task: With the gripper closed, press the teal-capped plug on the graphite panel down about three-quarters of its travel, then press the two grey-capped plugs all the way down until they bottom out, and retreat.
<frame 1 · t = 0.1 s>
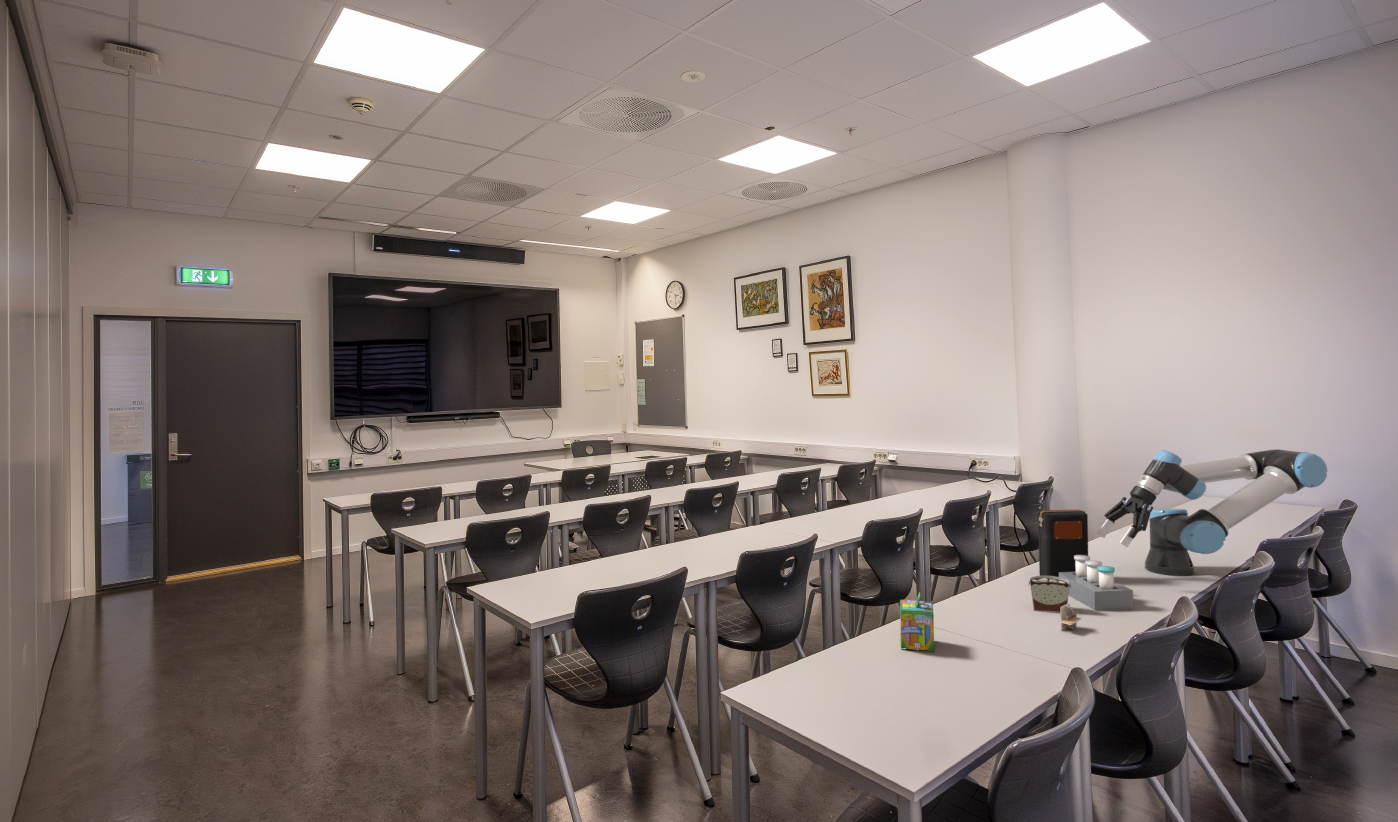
hand: (1111, 540, 242), 15 cm above the table, tool tilted 35°, fingers open, 13 cm apart
chalk box: (917, 645, 194), on the table
food container: (1048, 609, 220), on the table
voltmeter: (1064, 579, 250), on the table
architectural model: (1069, 631, 202), on the table
panel: (1094, 598, 227), on the table
grey plug end: (1082, 568, 234), point 8 cm above the table, slide at 0.0 cm
grey plug middle: (1093, 573, 227), point 8 cm above the table, slide at 0.0 cm
teal plug: (1106, 579, 220), point 8 cm above the table, slide at 0.0 cm
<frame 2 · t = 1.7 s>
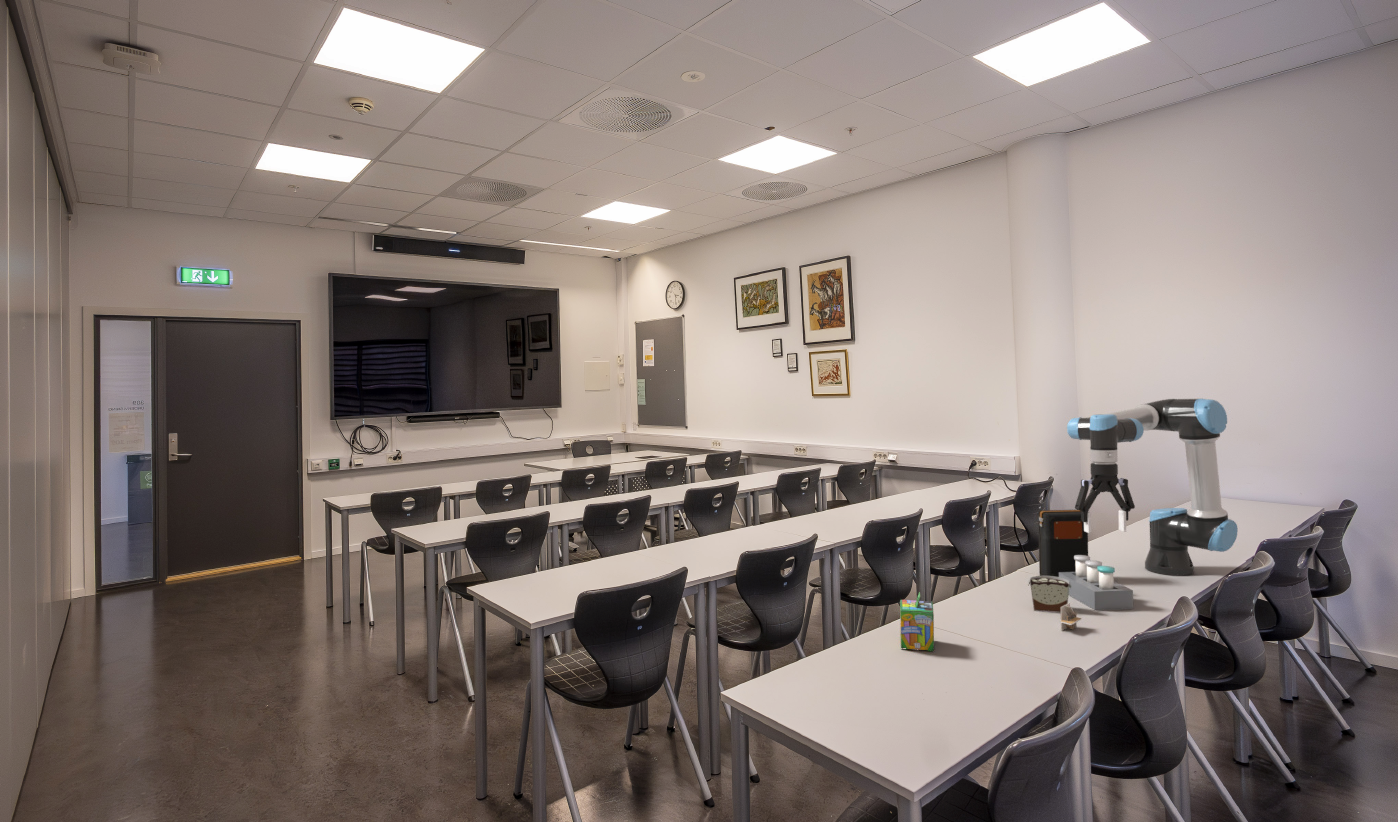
hand: (1105, 531, 220), 24 cm above the table, tool pointing down, fingers open, 10 cm apart
nothing on the table moved.
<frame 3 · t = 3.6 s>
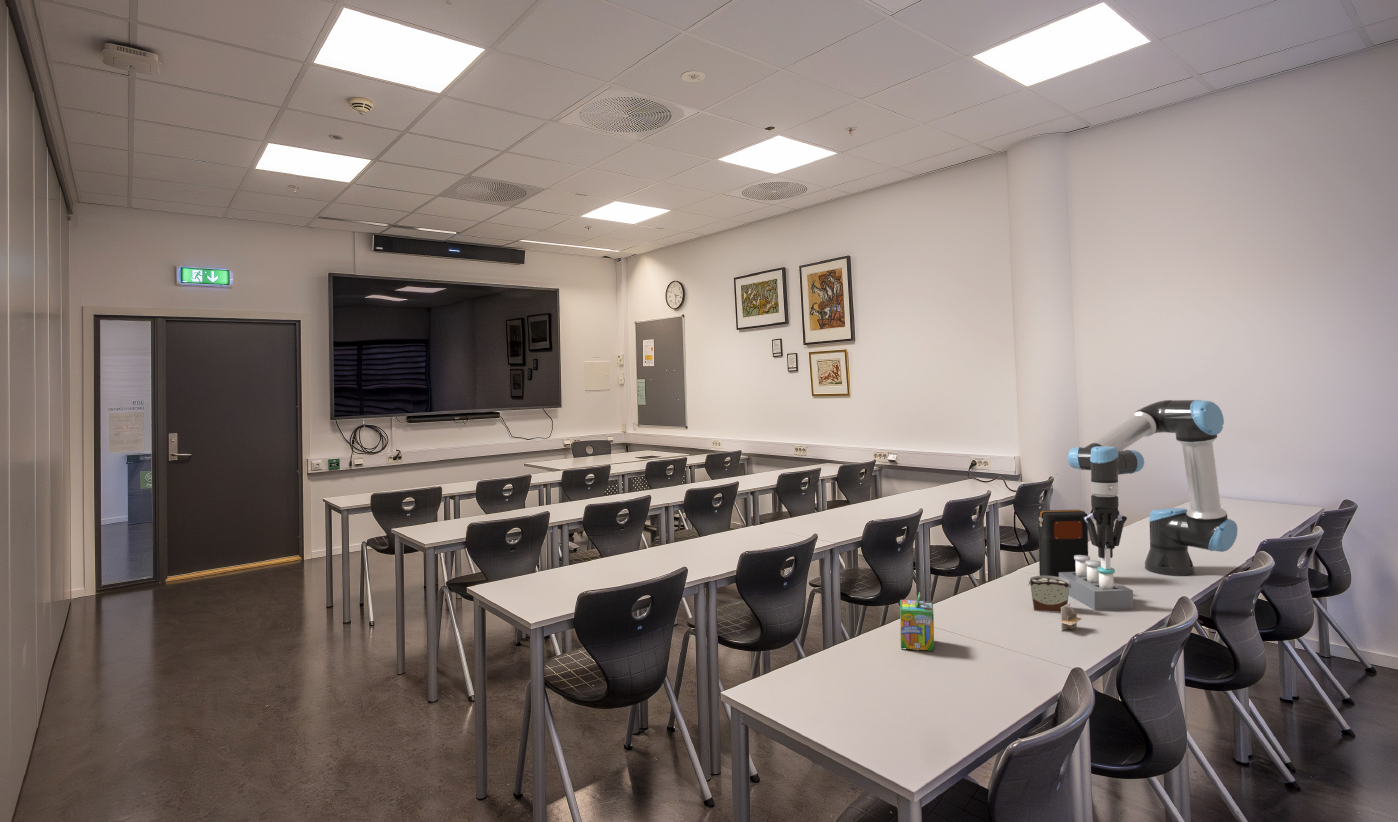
hand: (1105, 567, 220), 12 cm above the table, tool pointing down, fingers closed
teal plug: (1106, 580, 220), point 8 cm above the table, slide at 0.3 cm, touching gripper
everything else where it was.
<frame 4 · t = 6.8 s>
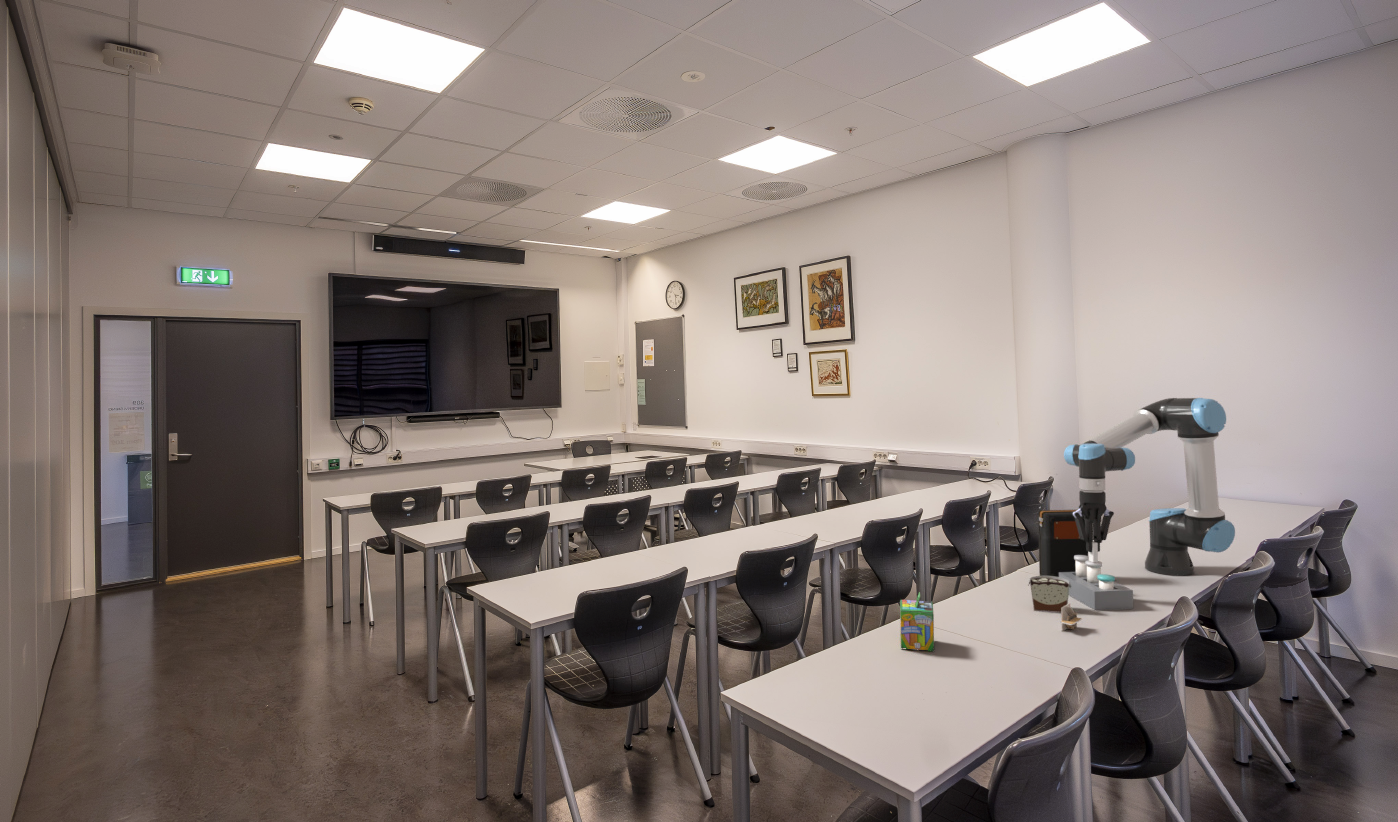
hand: (1093, 561, 227), 13 cm above the table, tool pointing down, fingers closed
grey plug middle: (1093, 573, 227), point 8 cm above the table, slide at 0.0 cm, touching gripper
teal plug: (1106, 588, 220), point 6 cm above the table, slide at 2.8 cm
everything else where it was.
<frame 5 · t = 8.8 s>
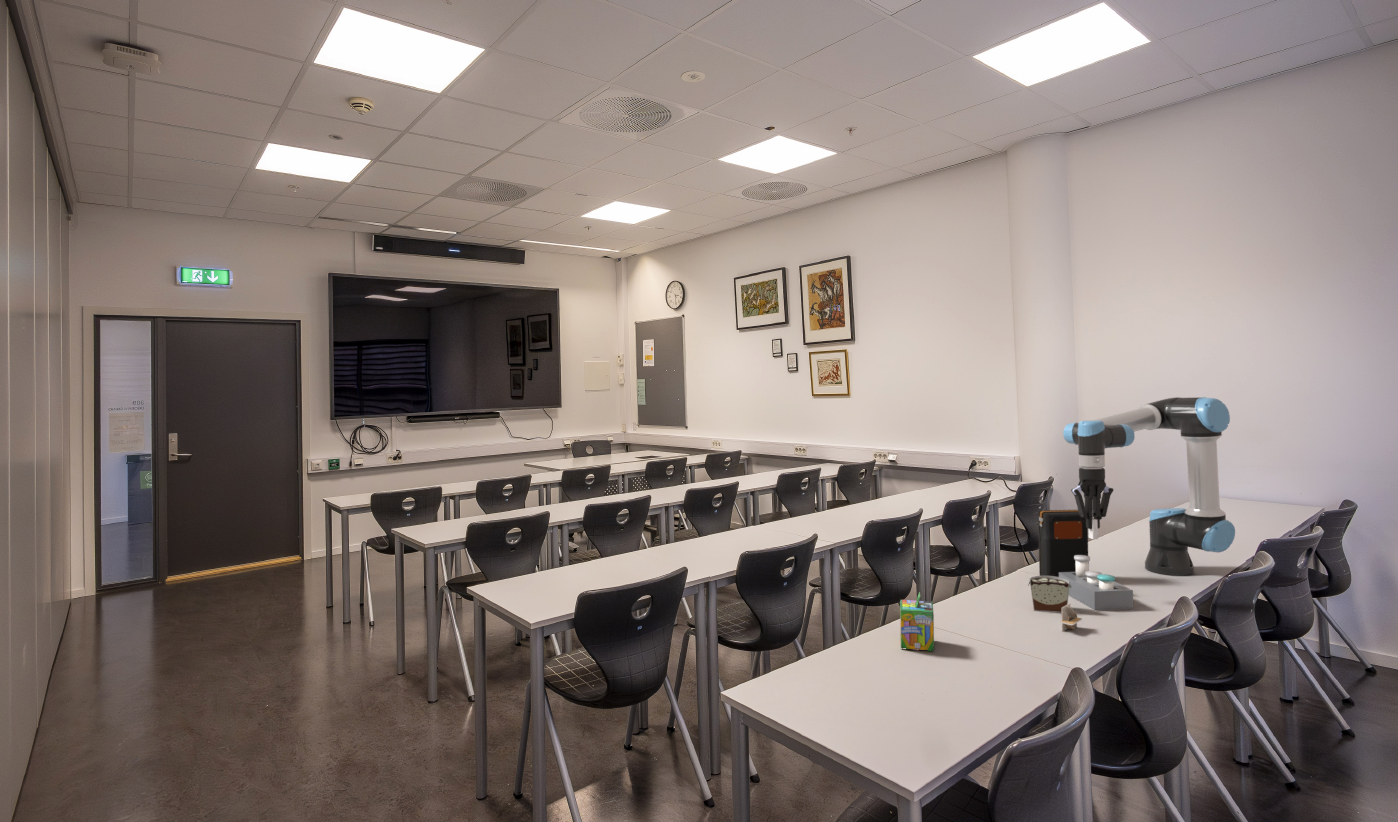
hand: (1093, 538, 227), 20 cm above the table, tool pointing down, fingers closed
grey plug middle: (1094, 584, 227), point 5 cm above the table, slide at 3.7 cm
everything else where it was.
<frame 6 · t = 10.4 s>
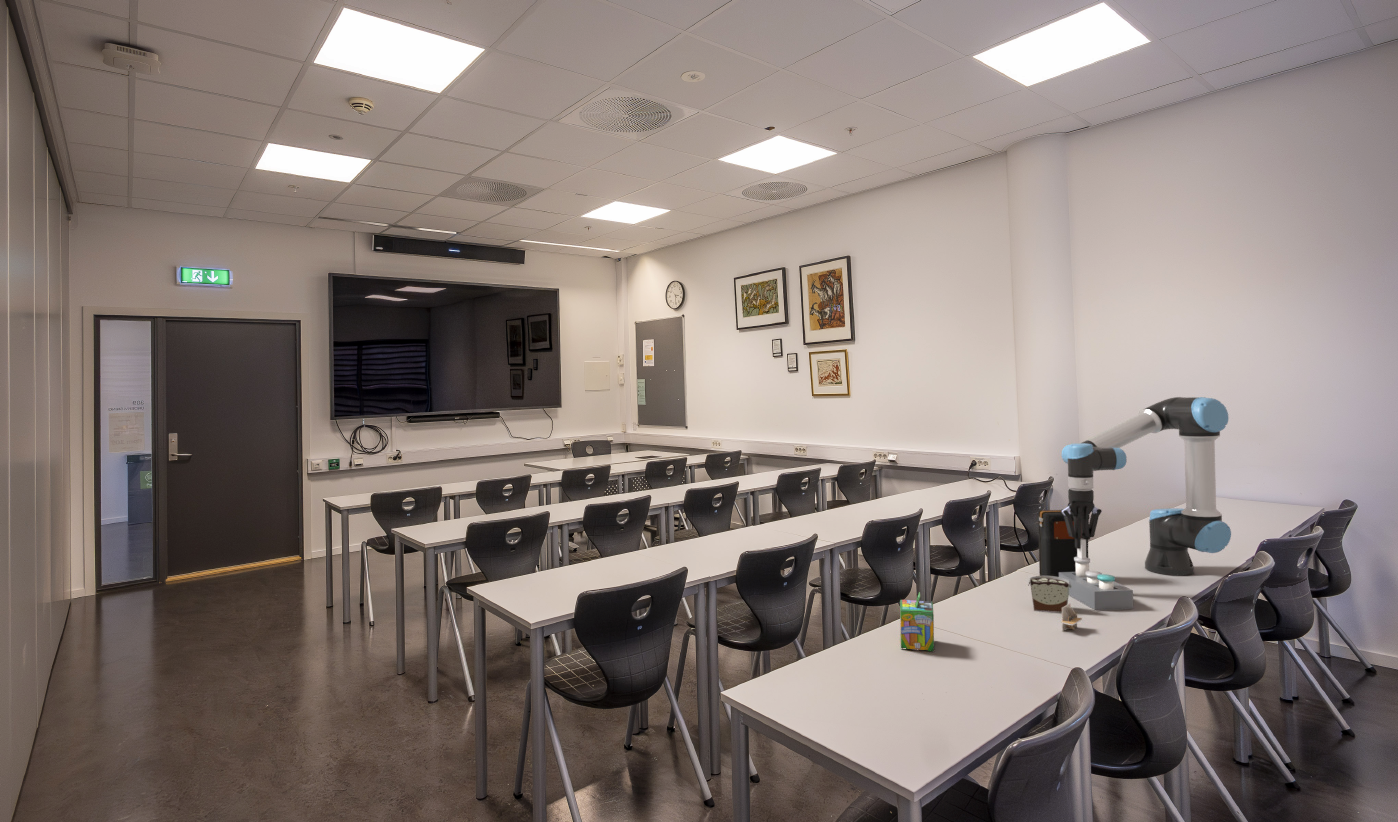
hand: (1081, 557, 234), 12 cm above the table, tool pointing down, fingers closed
grey plug end: (1082, 569, 234), point 8 cm above the table, slide at 0.6 cm, touching gripper
everything else where it was.
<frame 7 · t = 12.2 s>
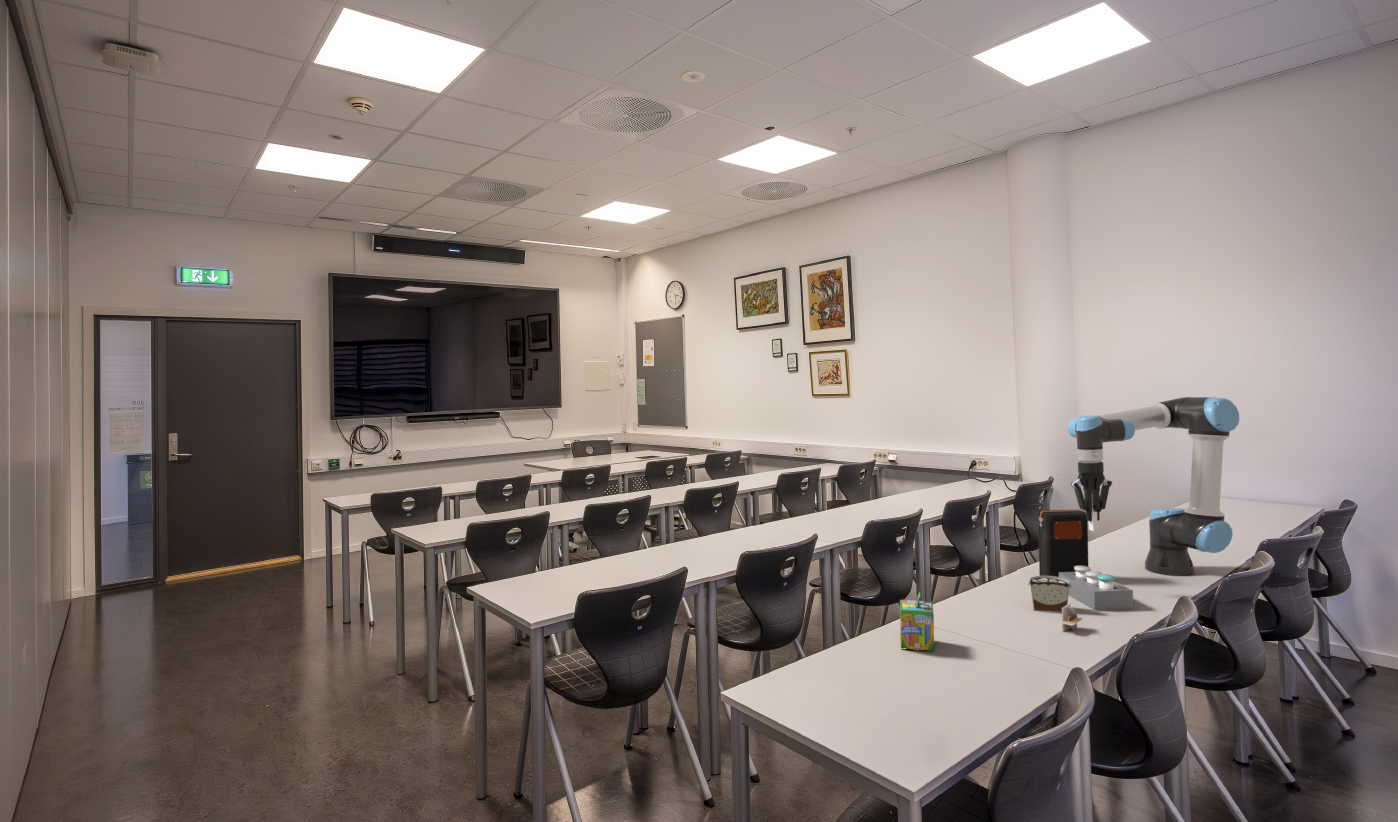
hand: (1093, 530, 233), 21 cm above the table, tool pointing down, fingers closed
grey plug end: (1082, 578, 234), point 5 cm above the table, slide at 3.7 cm
everything else where it was.
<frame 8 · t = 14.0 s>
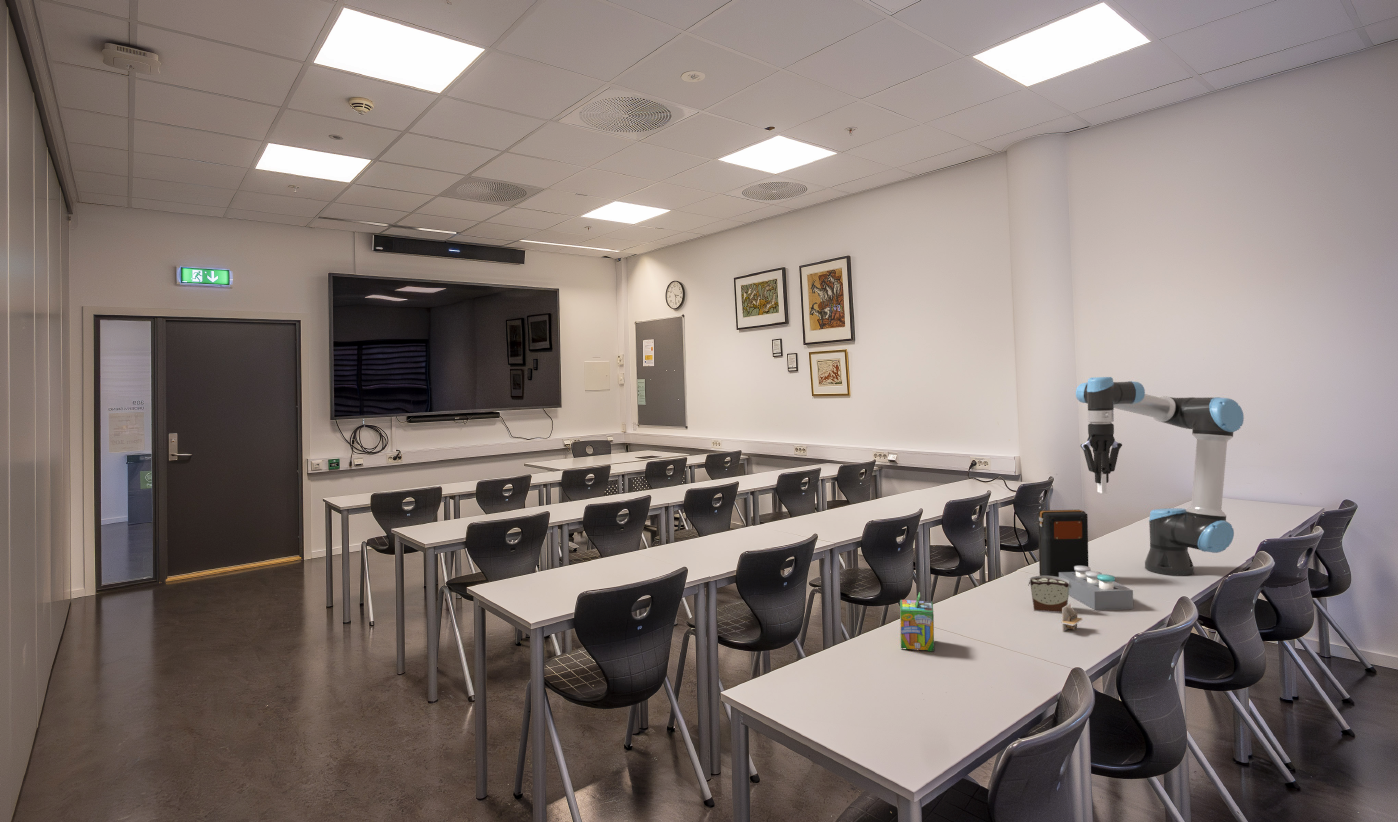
hand: (1101, 492, 231), 34 cm above the table, tool pointing down, fingers closed
nothing on the table moved.
at the end: teal plug slide at 2.8 cm; grey plug middle slide at 3.7 cm; grey plug end slide at 3.7 cm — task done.
